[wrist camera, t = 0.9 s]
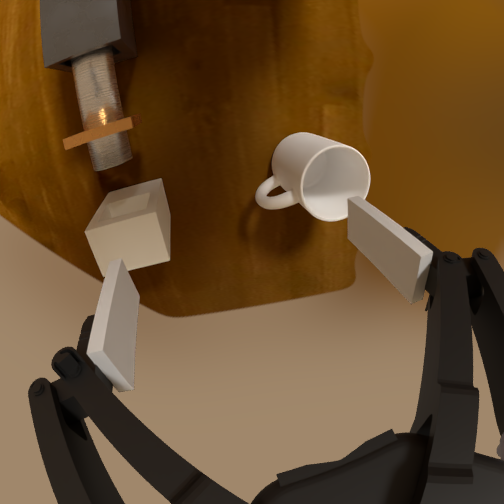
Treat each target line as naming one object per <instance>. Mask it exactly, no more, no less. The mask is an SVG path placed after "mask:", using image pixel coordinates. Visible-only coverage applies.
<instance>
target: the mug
mask: <svg viewBox="0 0 504 504" xmlns="http://www.w3.org/2000/svg"><path fill="white" fill-rule="evenodd" d="M272 172H273V176H272V177H270V178H268V179H267V180H266V181H264V182H263V183H262V184H261V185H260V186H259V187H258V189H257V191H256V194H255V199H256V202H257V203H258V204H259V206H261V207H263V208H265V209H281V208H285V207H288V206H291V205H294V204H296V203H298V202H299V203H300V204H301V205H302V206H303V207H304V208H305V209H306V210H307V211H308V212H309V213H310V214H311V215H313V216H314V217H316V218H317V219H320V220H323V221H339V220H342V219H344V218H347V217H348V202H347V198H350V197H355V196H360V197H361V198H363V199H364V200H365V198H366V196H367V194H368V190H369V186H370V171H369V167H368V164H367V162H366V160H365V159H364V157H363V156H362V155H361V154H360V153H359V152H358V151H357V150H355V149H354V148H352V147H350V146H347V145H344V144H341V143H339V142H336V141H333V140H330V139H327V138H324V137H321V136H318V135H315V134H311V133H304V132H302V133H295V134H292V135H289V136H288V137H286V138H285V139H283V140H282V141H281V142H280V143H279V144H278V146H277V147H276V149H275V151H274V153H273V157H272ZM278 186H281V187H282V188H283V189H284V190H285V191H287V192H285V193H283V194H280V195H277V196H273V197H268V196H267V194H268V193H269V192H270V191H271V190H272V189H274V188H276V187H278Z"/></svg>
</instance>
